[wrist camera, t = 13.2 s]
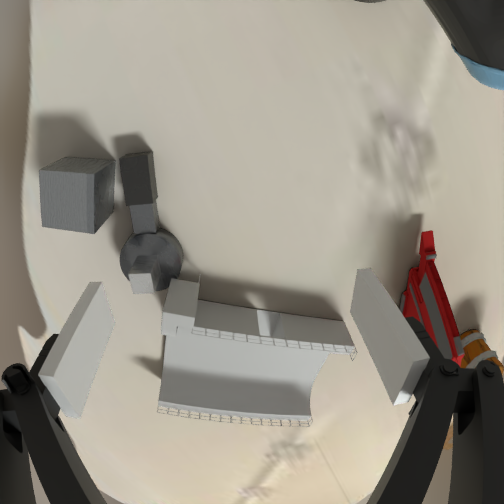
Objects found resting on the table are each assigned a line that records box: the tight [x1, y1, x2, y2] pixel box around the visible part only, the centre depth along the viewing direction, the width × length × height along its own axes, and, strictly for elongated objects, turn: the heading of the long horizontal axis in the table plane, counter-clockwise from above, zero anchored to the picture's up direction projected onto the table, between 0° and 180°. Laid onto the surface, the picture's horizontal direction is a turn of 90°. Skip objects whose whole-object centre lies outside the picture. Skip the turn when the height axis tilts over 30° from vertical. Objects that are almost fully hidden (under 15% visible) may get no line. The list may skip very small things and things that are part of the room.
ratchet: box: [120, 151, 183, 294], centre depth 40 cm, size 20×9×8 cm, turn 1°
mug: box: [460, 330, 504, 373], centre depth 57 cm, size 11×16×15 cm, turn 154°
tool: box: [400, 231, 465, 366], centre depth 47 cm, size 24×5×25 cm, turn 10°
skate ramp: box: [157, 273, 357, 427], centre depth 51 cm, size 30×27×11 cm
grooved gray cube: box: [39, 157, 116, 234], centre depth 37 cm, size 8×8×8 cm
